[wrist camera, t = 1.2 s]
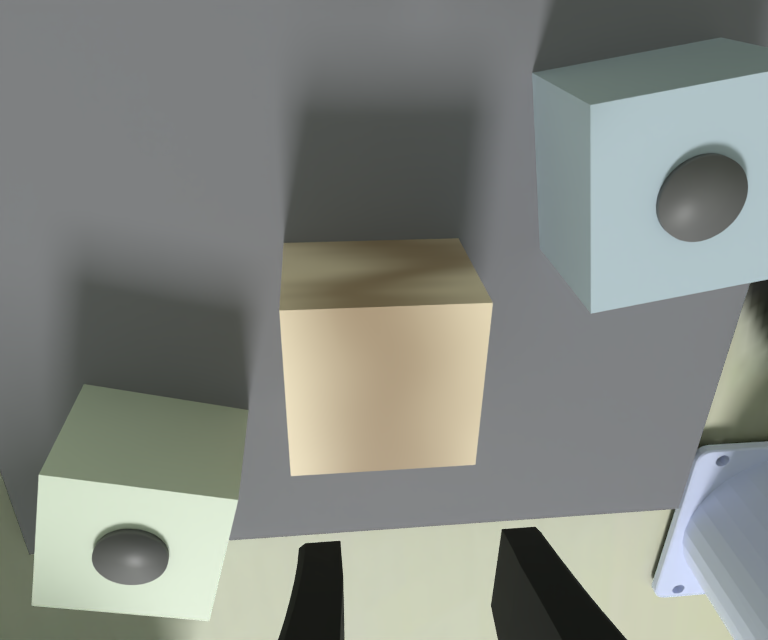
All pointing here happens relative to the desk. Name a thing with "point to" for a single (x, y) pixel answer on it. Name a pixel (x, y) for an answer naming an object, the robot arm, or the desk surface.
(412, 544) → the desk surface
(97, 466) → the sage dotted block
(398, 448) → the beech block
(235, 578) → the desk surface
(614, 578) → the desk surface
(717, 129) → the slate dotted block
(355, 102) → the rubber mat
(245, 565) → the desk surface
